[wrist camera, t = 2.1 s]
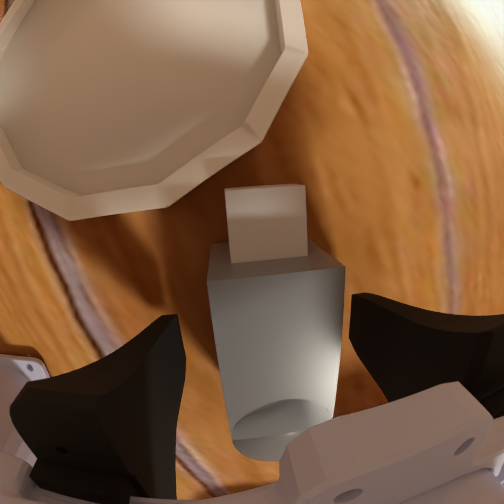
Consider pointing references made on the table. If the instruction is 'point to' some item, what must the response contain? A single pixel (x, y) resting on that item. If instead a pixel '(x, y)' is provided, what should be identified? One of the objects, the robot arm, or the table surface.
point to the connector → (274, 319)
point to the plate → (137, 96)
